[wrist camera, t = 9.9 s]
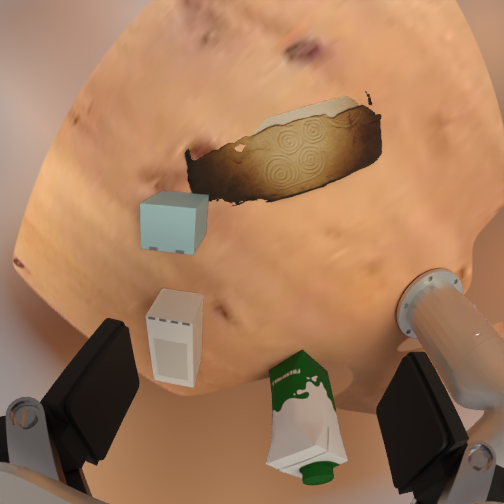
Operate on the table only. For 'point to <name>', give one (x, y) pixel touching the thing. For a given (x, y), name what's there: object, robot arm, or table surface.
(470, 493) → the robot arm
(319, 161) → the parchment
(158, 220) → the stub
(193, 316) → the block
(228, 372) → the table surface
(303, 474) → the milk carton
